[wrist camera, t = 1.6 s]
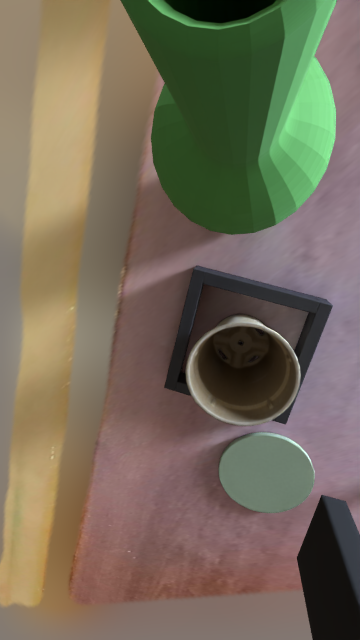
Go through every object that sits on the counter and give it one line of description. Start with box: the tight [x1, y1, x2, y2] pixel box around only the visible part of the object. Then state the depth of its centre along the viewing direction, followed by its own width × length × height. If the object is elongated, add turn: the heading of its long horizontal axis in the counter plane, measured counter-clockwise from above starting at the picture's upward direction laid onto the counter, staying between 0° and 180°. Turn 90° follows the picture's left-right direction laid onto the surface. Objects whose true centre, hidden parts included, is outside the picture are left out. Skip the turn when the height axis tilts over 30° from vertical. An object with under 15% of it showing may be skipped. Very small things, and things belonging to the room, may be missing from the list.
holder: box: [164, 266, 333, 424], centre depth 35 cm, size 13×13×2 cm
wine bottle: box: [121, 0, 337, 235], centre depth 17 cm, size 8×8×30 cm
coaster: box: [219, 432, 315, 513], centre depth 40 cm, size 11×11×1 cm
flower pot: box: [186, 314, 300, 426], centre depth 32 cm, size 9×9×9 cm
